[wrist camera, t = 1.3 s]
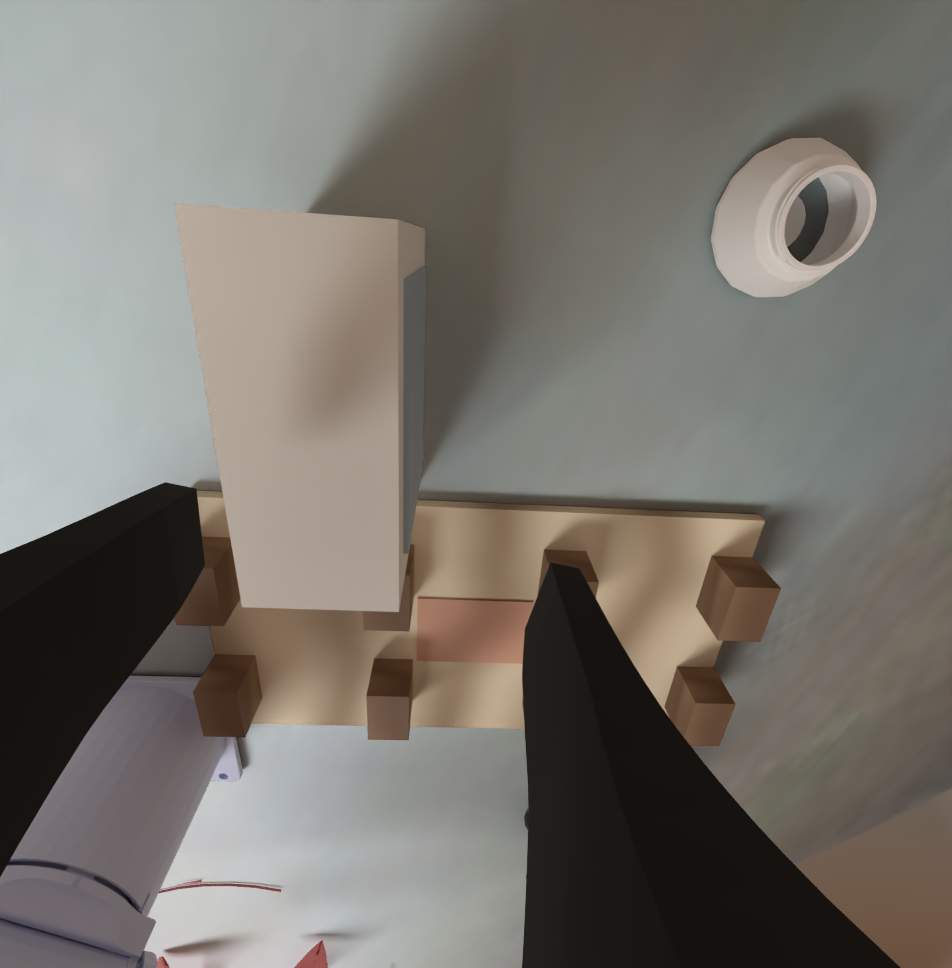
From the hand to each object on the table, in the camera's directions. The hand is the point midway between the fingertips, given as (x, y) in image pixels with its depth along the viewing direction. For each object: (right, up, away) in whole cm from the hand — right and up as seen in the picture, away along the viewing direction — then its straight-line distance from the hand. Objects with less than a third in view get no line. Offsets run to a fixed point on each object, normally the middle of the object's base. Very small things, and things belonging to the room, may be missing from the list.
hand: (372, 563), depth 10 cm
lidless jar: (+13, +11, +8) cm, 19 cm away
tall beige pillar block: (-2, +6, +10) cm, 12 cm away
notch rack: (+2, -6, +16) cm, 17 cm away
